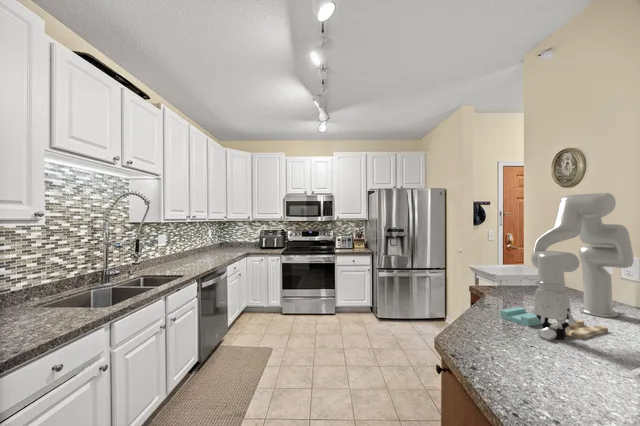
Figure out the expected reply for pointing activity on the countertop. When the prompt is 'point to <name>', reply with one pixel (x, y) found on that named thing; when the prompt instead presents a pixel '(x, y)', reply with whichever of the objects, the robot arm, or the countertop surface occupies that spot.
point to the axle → (551, 332)
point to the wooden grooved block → (584, 330)
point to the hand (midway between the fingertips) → (553, 336)
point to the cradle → (520, 316)
